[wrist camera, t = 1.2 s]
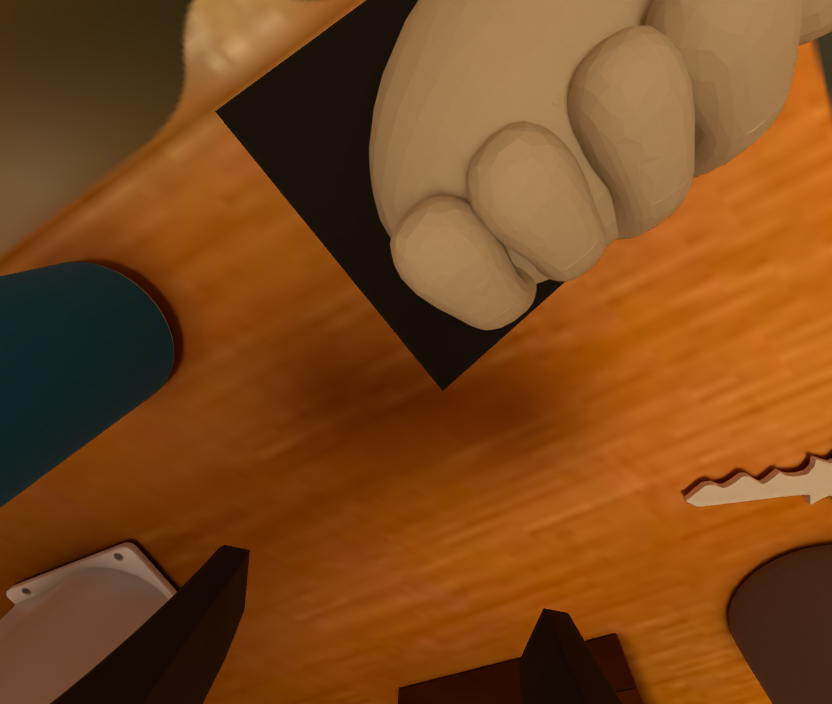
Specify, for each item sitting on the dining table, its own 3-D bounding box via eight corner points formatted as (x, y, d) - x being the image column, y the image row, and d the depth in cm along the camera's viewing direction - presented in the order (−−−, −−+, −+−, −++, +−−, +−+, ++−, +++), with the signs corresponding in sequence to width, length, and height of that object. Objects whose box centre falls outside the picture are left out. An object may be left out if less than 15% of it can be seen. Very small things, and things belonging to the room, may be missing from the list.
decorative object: (955, -724, 5) (1058, 55, 8) (520, -75, 15) (643, 173, 18) (86, -192, 4) (602, 507, 7) (229, 143, 14) (417, 372, 17)
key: (958, 417, 18) (931, 509, 20) (951, 413, 18) (925, 505, 20) (687, 451, 19) (685, 536, 21) (684, 448, 20) (681, 531, 21)
